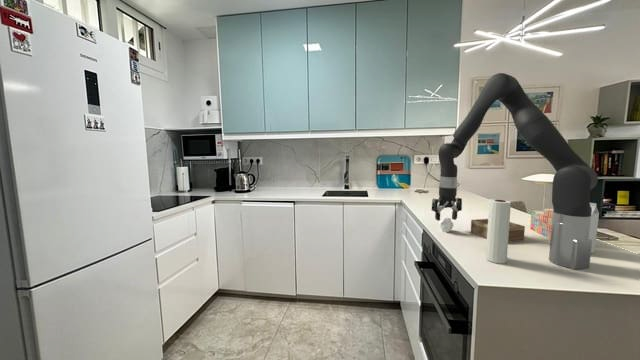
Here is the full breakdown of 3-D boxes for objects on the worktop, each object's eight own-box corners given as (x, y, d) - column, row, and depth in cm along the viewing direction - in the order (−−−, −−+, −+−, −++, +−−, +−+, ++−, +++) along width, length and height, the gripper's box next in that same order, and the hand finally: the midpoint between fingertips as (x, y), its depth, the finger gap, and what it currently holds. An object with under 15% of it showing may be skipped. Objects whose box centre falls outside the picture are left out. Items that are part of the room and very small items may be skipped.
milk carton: (586, 256, 96) (592, 204, 94) (561, 249, 102) (566, 201, 100) (594, 252, 99) (600, 202, 97) (570, 246, 105) (575, 199, 103)
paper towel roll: (507, 265, 88) (511, 202, 86) (485, 261, 92) (489, 201, 89) (505, 258, 95) (510, 199, 92) (485, 254, 98) (489, 197, 95)
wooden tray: (523, 241, 113) (524, 226, 112) (495, 243, 110) (496, 228, 109) (496, 231, 126) (497, 218, 126) (470, 233, 124) (471, 219, 123)
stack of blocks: (529, 229, 129) (531, 204, 128) (544, 229, 128) (546, 204, 126) (560, 244, 108) (562, 214, 107) (577, 245, 107) (581, 215, 105)
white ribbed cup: (456, 231, 125) (456, 217, 124) (448, 234, 122) (448, 219, 121) (444, 228, 130) (444, 214, 130) (436, 230, 127) (436, 216, 126)
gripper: (439, 187, 119) (437, 222, 121) (467, 186, 121) (464, 221, 123) (429, 185, 126) (427, 218, 128) (456, 184, 129) (454, 217, 131)
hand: (446, 219), depth 126 cm, fingers open, 8 cm apart
